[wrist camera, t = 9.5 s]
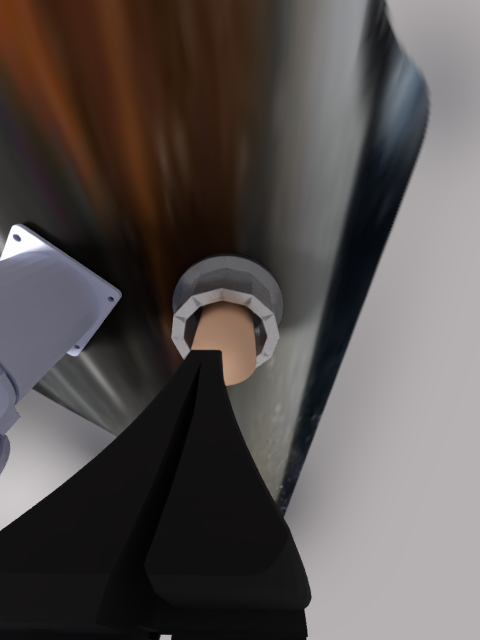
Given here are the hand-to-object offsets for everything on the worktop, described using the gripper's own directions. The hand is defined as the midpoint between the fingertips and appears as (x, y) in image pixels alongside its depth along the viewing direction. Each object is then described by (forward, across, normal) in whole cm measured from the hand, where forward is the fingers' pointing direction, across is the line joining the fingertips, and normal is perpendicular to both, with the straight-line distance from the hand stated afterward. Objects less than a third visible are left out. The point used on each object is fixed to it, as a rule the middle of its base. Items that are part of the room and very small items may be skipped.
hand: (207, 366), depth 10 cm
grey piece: (+9, 0, +2) cm, 10 cm away
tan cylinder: (+8, 0, +2) cm, 9 cm away
